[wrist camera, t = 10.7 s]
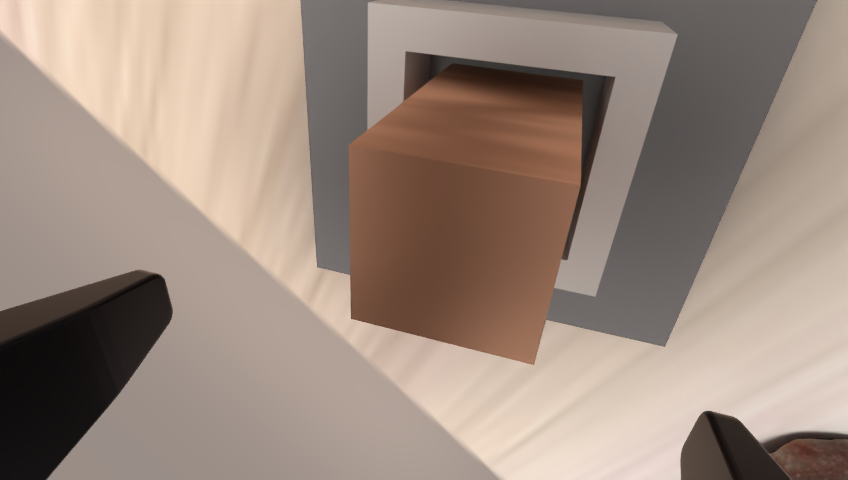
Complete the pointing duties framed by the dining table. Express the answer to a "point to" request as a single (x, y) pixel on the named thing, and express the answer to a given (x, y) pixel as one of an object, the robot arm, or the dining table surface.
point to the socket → (601, 122)
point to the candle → (814, 459)
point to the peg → (466, 208)
